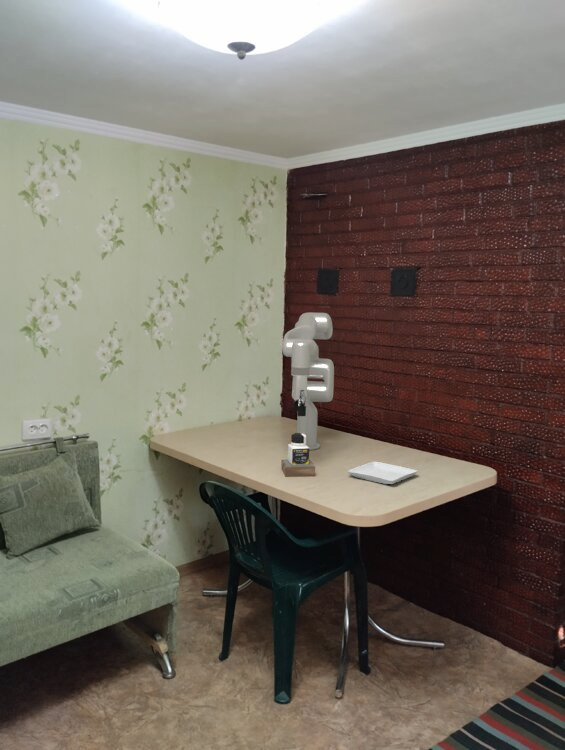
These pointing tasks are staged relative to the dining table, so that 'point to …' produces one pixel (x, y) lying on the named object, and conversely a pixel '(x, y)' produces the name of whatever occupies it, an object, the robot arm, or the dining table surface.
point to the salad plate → (382, 472)
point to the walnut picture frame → (297, 469)
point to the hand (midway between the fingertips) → (299, 413)
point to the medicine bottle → (298, 450)
